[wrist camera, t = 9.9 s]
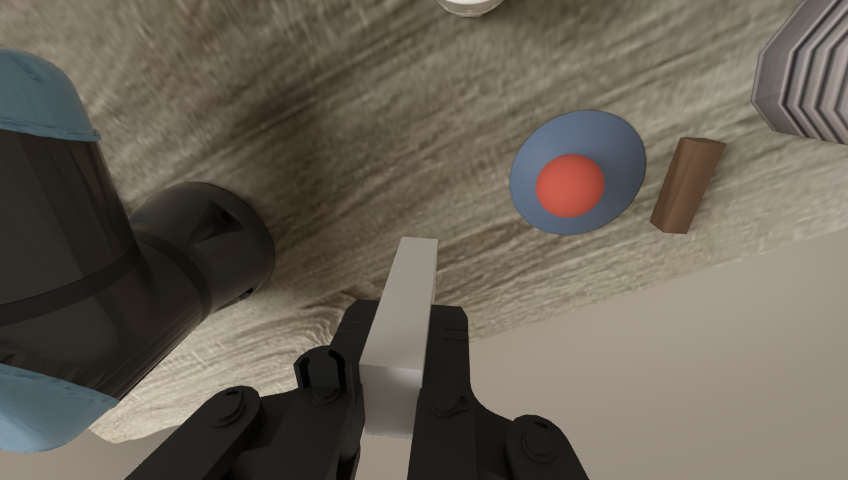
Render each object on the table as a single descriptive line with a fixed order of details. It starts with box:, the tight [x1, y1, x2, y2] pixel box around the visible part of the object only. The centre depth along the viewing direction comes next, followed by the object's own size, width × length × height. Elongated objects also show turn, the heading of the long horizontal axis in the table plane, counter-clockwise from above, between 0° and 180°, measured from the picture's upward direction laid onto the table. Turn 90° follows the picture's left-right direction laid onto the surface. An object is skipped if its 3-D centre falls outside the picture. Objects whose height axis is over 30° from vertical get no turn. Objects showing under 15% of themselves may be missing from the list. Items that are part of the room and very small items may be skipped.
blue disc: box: [510, 110, 645, 235], centre depth 31 cm, size 12×12×1 cm
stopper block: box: [650, 138, 726, 234], centre depth 29 cm, size 2×8×2 cm, turn 179°
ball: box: [536, 154, 604, 217], centre depth 28 cm, size 6×6×6 cm
